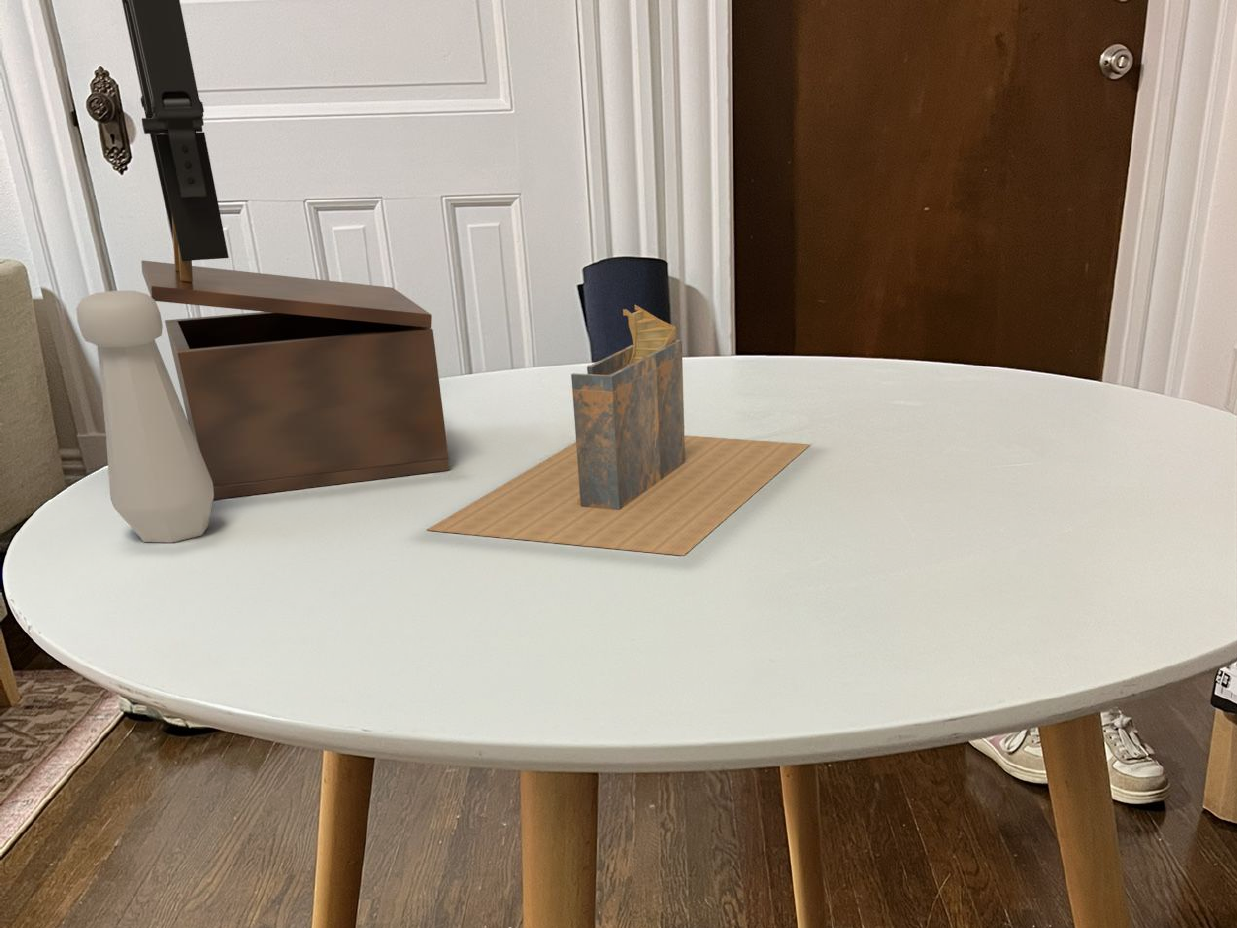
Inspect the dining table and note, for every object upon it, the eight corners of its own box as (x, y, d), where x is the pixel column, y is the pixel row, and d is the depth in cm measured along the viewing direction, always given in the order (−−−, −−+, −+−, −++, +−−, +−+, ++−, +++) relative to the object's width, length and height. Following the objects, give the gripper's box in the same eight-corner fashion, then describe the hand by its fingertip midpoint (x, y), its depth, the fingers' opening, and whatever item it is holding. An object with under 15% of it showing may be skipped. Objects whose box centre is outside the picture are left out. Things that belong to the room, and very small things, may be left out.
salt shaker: (195, 549, 76) (135, 302, 68) (103, 547, 76) (34, 302, 69) (238, 518, 80) (187, 284, 73) (151, 516, 81) (92, 285, 74)
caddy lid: (152, 301, 77) (140, 120, 72) (142, 273, 87) (130, 113, 82) (431, 328, 83) (436, 164, 79) (393, 299, 93) (395, 152, 89)
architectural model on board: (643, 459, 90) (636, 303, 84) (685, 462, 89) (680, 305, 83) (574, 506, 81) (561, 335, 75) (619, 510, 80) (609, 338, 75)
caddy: (211, 500, 84) (177, 352, 79) (195, 454, 93) (164, 320, 89) (450, 470, 88) (432, 328, 83) (412, 429, 98) (394, 300, 93)
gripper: (26, -213, 75) (131, 239, 88) (17, -278, 61) (144, 276, 74) (164, -208, 77) (246, 232, 90) (187, -269, 63) (281, 267, 76)
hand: (200, 251), depth 82 cm, fingers closed on caddy lid, 6 cm apart
